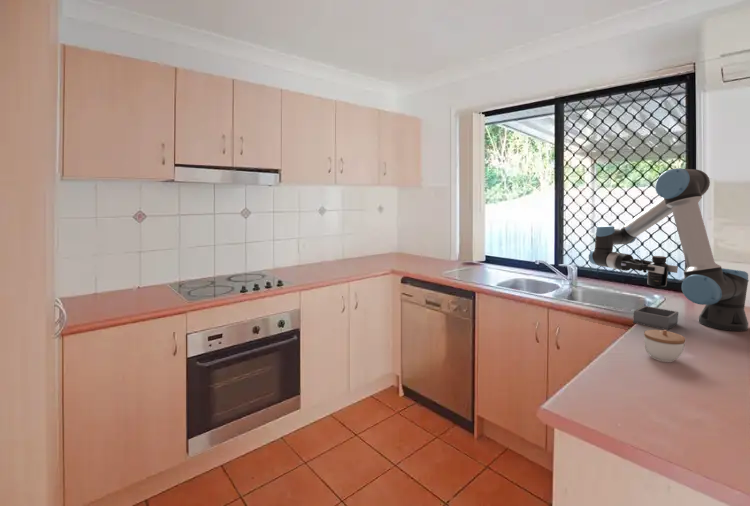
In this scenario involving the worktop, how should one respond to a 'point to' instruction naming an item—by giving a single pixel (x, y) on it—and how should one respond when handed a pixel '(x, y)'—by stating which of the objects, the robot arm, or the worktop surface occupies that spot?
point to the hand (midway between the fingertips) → (670, 270)
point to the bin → (655, 317)
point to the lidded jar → (663, 344)
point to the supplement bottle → (658, 278)
